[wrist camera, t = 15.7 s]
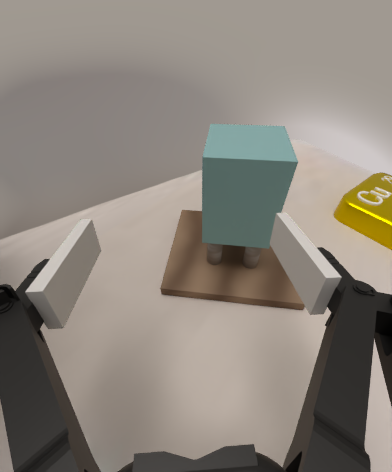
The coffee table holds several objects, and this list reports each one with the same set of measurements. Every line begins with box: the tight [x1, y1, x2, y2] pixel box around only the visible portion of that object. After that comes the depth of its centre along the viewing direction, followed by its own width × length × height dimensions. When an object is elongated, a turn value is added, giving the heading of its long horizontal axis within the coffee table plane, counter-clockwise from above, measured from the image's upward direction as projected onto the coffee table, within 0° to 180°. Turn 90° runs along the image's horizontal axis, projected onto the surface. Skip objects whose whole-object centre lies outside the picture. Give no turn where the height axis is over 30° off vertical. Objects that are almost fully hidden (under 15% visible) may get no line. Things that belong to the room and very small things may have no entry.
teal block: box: [202, 124, 298, 249], centre depth 26 cm, size 8×8×11 cm
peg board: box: [161, 210, 305, 310], centre depth 32 cm, size 18×16×6 cm
